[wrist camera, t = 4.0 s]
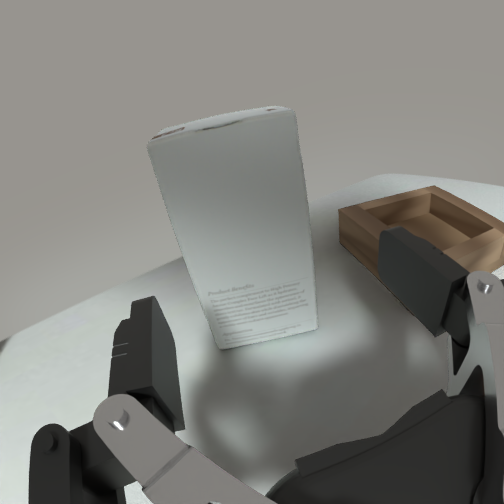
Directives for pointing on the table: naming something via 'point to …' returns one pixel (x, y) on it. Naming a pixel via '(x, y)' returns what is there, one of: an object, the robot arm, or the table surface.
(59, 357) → the table surface
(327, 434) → the table surface
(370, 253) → the wooden tray
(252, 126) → the skincare box
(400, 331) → the table surface
